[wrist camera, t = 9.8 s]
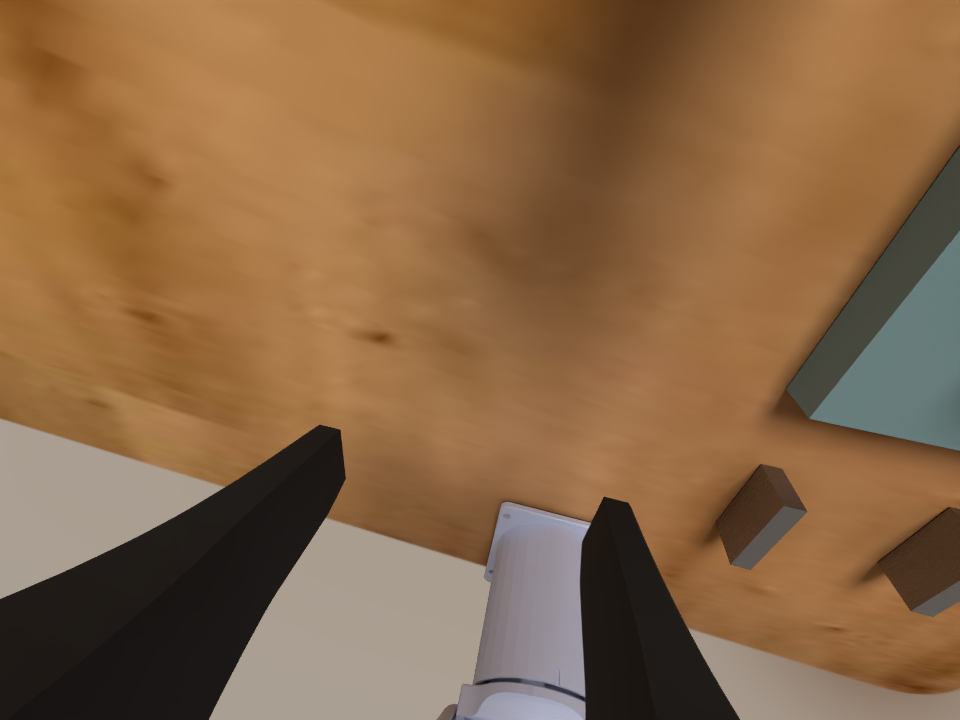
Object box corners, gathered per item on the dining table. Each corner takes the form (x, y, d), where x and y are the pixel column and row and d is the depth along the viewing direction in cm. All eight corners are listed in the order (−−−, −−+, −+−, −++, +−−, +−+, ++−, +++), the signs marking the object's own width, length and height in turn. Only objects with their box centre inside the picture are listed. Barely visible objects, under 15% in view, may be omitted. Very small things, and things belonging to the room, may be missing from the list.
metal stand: (897, 567, 21) (932, 616, 19) (715, 522, 22) (730, 564, 20) (973, 512, 18) (1024, 563, 16) (761, 464, 19) (783, 506, 17)
